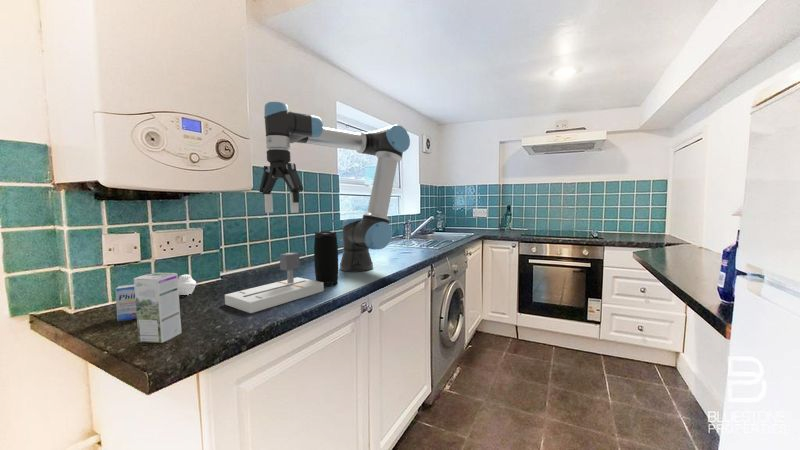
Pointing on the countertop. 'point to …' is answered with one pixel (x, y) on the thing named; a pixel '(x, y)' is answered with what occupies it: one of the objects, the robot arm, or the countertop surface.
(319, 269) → the portable speaker
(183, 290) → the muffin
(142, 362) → the countertop surface
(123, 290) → the medicine box
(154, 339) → the syrup box
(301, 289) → the fader console
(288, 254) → the fader tab
